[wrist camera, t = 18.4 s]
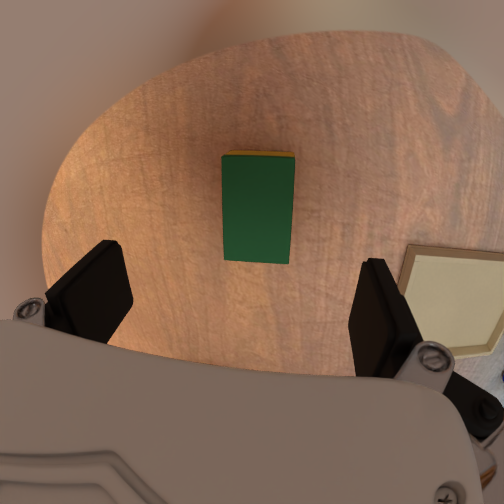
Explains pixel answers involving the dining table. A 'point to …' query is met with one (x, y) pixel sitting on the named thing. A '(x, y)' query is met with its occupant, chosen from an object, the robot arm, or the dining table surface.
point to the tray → (455, 297)
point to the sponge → (257, 205)
